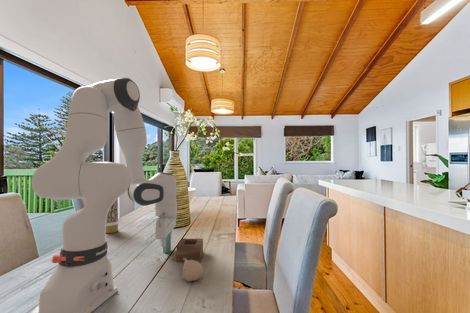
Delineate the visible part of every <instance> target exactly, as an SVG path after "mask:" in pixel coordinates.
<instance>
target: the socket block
mask: <svg viewBox="0 0 470 313" xmlns="http://www.w3.org/2000/svg"><path fill="white" fill-rule="evenodd" d="M203 254H204V238H180V240H179V242H178V243H177V245H176V262H177V263H185V260H183V258H186V259H187V260H194V261H197V262H199V263H200V262H201V261H202V257H203Z"/></svg>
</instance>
